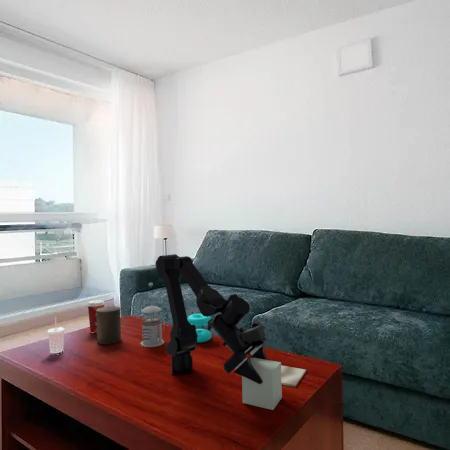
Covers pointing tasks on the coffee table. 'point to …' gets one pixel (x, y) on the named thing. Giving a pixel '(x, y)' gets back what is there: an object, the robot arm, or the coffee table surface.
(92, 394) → the coffee table surface
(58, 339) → the beverage cup
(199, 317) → the donuts
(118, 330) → the pillar candle
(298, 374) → the birch coaster
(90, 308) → the paper cup
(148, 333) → the french press
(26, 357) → the coffee table surface
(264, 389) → the bulging sage box
